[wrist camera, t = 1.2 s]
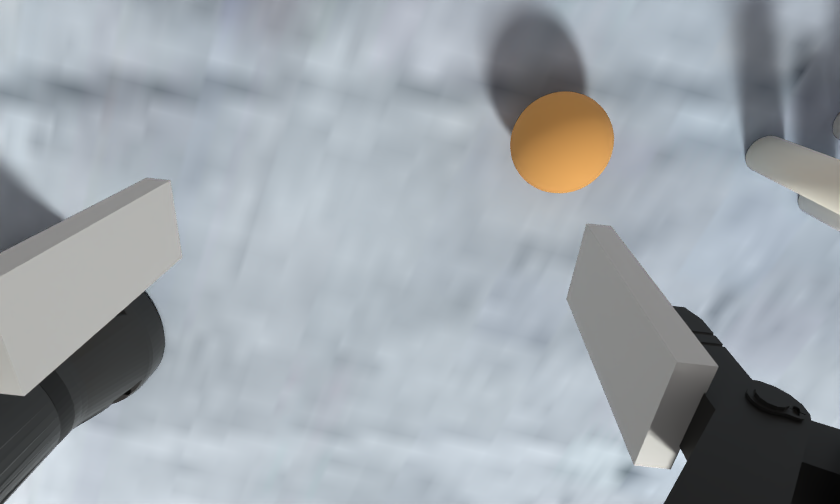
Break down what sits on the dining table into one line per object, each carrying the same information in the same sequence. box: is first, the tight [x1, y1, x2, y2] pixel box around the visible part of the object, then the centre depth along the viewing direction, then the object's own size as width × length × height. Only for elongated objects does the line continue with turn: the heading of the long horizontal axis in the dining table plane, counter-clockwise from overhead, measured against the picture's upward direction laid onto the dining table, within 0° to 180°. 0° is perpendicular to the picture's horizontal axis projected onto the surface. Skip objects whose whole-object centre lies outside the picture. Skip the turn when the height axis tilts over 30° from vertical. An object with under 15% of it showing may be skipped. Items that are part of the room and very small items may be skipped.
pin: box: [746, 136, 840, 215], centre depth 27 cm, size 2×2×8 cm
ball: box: [510, 91, 614, 193], centre depth 29 cm, size 6×6×6 cm
